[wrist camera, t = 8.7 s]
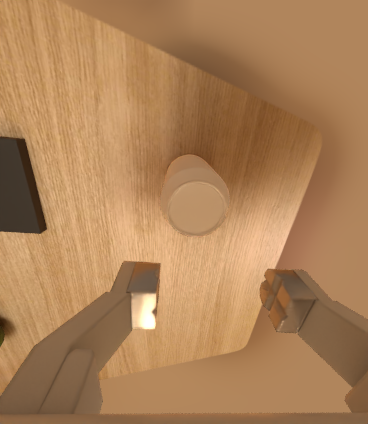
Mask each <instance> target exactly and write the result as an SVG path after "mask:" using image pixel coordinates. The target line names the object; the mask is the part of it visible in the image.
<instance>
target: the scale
mask: <svg viewBox="0 0 368 424" xmlns="http://www.w3.org/2000/svg"><path fill="white" fill-rule="evenodd" d="M46 229H47V228H46V224H45V220H44V216H43V212H42V208H41V204H40V200H39V196H38V192H37V188H36V184H35V180H34V176H33V172H32V168H31V164H30V160H29V156H28V152H27V148H26V143H25V139H19V138H9V137H0V231H3V232H20V233H37V234H41V233H42V232H44V231H45V230H46Z"/></svg>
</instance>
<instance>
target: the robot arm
mask: <svg viewBox="0 0 368 424" xmlns="http://www.w3.org/2000/svg"><path fill="white" fill-rule="evenodd" d="M264 276H265V278H266V280H265V281H264V282H263V283H261V287H260V298H261V301H262V303H263V306H264V307H265V308H267V309H268V310H269V311H270V313H269V318H270V319H271V322H272V324H273V326H274V328H275V330H276V332H285V333H298V335H299V336H300V337H301V338H302V339H303V340H304V341H305V342H306V343H307V344H308V345H309V346H310V347H311V348H312V349H313V350H314V351H315V352H316V353H318V355H319V356H320V357H322V358H323V359H324V360H325V361H326V362H327V363H328V364H329V365H330V366H331V367H332V368H333V369H334V370H335V371H336V372H337V373H338V374H339V375H340V376H341V377H342V378H343V379H344V380H345V381H346V382H348V384H350V385H351V386H352V387H353V388H352V390H350V391H349V393H348V394H347V395H346V396H345V402H346V404H347V405H348V407H349V408H350V410H351V412H352V413H184V414H183V413H181V414H180V413H175V414H174V413H172V414H171V413H169V414H168V413H167V414H166V413H165V414H100V410H101V406H102V402H103V400H102V394H101V388H100V383H99V377H98V373H99V372H100V371H101V369H102V368H103V367H104V366H105V364H106V363H107V362H108V360H109V359H110V358H111V357H112V355H113V354H114V353H115V351H116V350H117V349H118V348H119V346H120V345H121V344H122V342H123V341H124V340H125V339H126V337H127V336H128V335H129V334H130V332H131V331H132V329H155V323H156V315H157V303H158V297H159V285H160V279H159V278H160V263H150V262H134V261H124V262H123V263H122V265H121V267H120V270H119V272H118V275H117V277H116V279H115V282H114V284H113V286H112V289H111V291H110V292H105V293H104V294H103V295H101V296H100V297H99V298H97V299H96V300H95V301H94V302H92V303H91V304H90V305H88V306H87V307H86V308H84V309H83V310H82V311H80V312H79V313H78V314H76V315H75V316H74V317H72V318H71V319H70V320H68V321H67V322H66V323H64V324H63V325H62V326H60V327H59V328H58V329H56V330H55V331H54V332H52V333H51V334H50V335H48V336H47V337H46V338H44V339H43V340H42V341H40V342H39V343H38V344H36V345H35V346H34V347H33V349H32V350H31V352H30V353H29V355H28V356H27V358H26V359H25V360H24V362H23V363H22V365H21V366H20V368H19V369H18V371H17V372H16V374H15V375H14V377H13V378H12V380H11V381H10V383H9V384H8V386H7V387H6V389H5V390H4V392H3V393H2V395H1V396H0V424H368V319H366V318H364V317H363V316H361V315H359V314H358V313H356V312H354V311H353V310H351V309H349V308H347V307H346V306H344V305H342V304H341V303H339V302H337V301H333V300H332V299H331V298H330V297H328V295H327V294H326V293H325V292H324V291H323V290H322V289H321V288H320V286H319V285H318V284H317V283H316V282H315V281H314V280H313V279H312V278H311V277H310V276H309V275H308V273H307V272H305V271H304V270H294V269H291V270H286V269H267V270H266V272H265V275H264Z"/></svg>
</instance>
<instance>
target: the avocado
mask: <svg viewBox="0 0 368 424" xmlns="http://www.w3.org/2000/svg"><path fill="white" fill-rule="evenodd" d="M4 336H5V333H4V330H3V328H2V326H1V325H0V346H1V345H2V343H3V341H4Z"/></svg>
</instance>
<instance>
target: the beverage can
mask: <svg viewBox="0 0 368 424" xmlns="http://www.w3.org/2000/svg"><path fill="white" fill-rule="evenodd" d="M229 204H230V195H229V190H228V188H227V185H226V184H225V182H224V181H223V179H222V178H221V177H220V176H219V175H218V174H217V173H216V172H215V171H214V169H213V168H212V167H211V166H210V165H209V164H208V163H207V162H206V161H205V160H204V159H202V158H201V157H199V156H196V155H191V154H188V155H182V156H180V157H178V158H176V159H175V160H174V161H173V162H172V163H171V164H170V166H169V167H168V170H167V173H166V176H165V180H164V183H163V187H162V191H161V195H160V208H161V212H162V214H163V216H164V218H165V219H166V221H167V222H168V223H169V224H170V225H171V226H172V227H173V228H174V229H175V230H176V231H177V232H179V233H181V234H183V235H185V236H189V237H202V236H206V235H209V234H211V233H213V232H214V231H216V230H217V229H218V228H219V227H220V226H221V225H222V223H223V222H224V220H225V218H226V215H227V211H228V208H229Z"/></svg>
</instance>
